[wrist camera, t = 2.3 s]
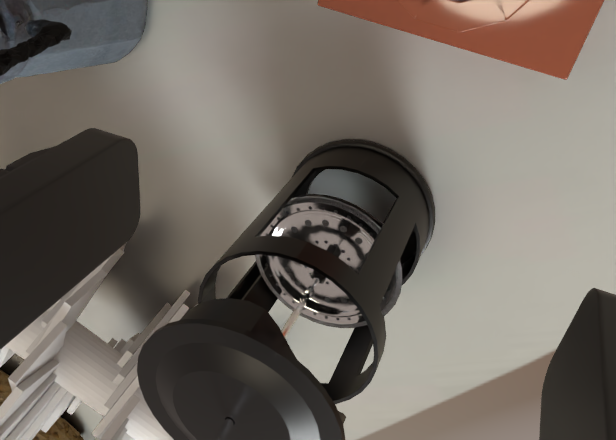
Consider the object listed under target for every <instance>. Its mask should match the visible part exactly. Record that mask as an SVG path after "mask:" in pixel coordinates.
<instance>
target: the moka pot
mask: <svg viewBox="0 0 616 440" xmlns="http://www.w3.org/2000/svg"><path fill="white" fill-rule="evenodd" d="M147 4H148V0H0V84H1V83H4V82H7V81H10V80H12V79H14V78H15V77H28V76H33V75H38V74H46V73H52V72H58V71H63V70H69V69H76V68H83V67H89V66H95V65H101V64H107V63H114V62H117V61H118V60H120V59H121V58H123V57H124V56H126V55H127V54H128V53H129V52H130V51H131V50H132V49H133V48H134V47H135V46H136V44H137V43H138V42H139V41H140V39H141V36H142V34H143V32H144V28H145V24H146V14H147Z"/></svg>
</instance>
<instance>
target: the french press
mask: <svg viewBox="0 0 616 440" xmlns="http://www.w3.org/2000/svg"><path fill="white" fill-rule="evenodd" d="M325 169H341V170H347V171H351V172H355V173H359V174H361V175H364V176H366V177H368V178H371V179H373V180H374V181H376V182H377V183H379V184H381V185H382V186H384V187H385V188H386V189H387V190H389V191H390V192H391V193H392V194H393V195H394V196H395V197H396V198H397V199H396V200H395V202H394V204H393V206H392V208H391V210H390V212H389V214H388V216H387V218H386V220H385V221H384V223H383V225H382V224H381V223H380V222H379V221H378V220H377V219H376V218H374V217H373V216H372V215H371V214H369V213H368V212H366V211H365V210H363V209H361V208H360V207H358V206H356V205H354V204H352V203H350V202H347V201H345V200H343V199H339V198H335V197H331V196H327V195H316V194H310V195H307V194H308V191H309V188H310V185H311V183H312V181H313V180H314V178H315V177H316V176H317V175H318V174H319V173H321V172H322V171H324V170H325ZM434 225H435V208H434V204H433V200H432V196H431V193H430V191H429V189H428V187H427V185H426V183H425V181H424V179H423V178H422V177H421V175H420V174H419V173H418V171H417V170H416V169H415V168H414V167H413V166H412V165H411V164H410V163H409V162H408V161H407V160H406V159H404V158H403V157H402V156H400V155H399V154H397V153H395V152H394V151H392V150H391V149H389V148H386V147H384V146H381V145H379V144H376V143H372V142H367V141H363V140H341V141H336V142H331V143H328V144H326V145H323V146H321V147H318V148H317V149H315V150H314V151H313V152H311V153H310V154H308V155H307V156H306V157H305V158H304V160H303V161H302V162H301V163H300V164H299V165H298V166H297V168H296V170H295V172H294V174H293V176H292V178H291V180H290V181H289V182H288V183H287V184H286V185H285V186H284V187H283V189H282V190H281V191H280V192H279V193H278V194H277V195H276V196H275V198H274V199H273V200H272V201H271V202H270V203H269V204H268V205H267V207H266V208H265V209H264V210H263V211H262V212H261V213H260V214H259V215H258V217H257V218H256V219H255V220H254V221H253V222H252V223H251V224H250V226H249V227H248V228H247V229H246V230H245V231H244V232H243V233H242V235H241V236H240V237H239V238H238V239H237V240H236V241H235V242H234V244H233V245H232V246H231V247H230V248H229V249H228V250H227V251H226V252H225V254H224V255H223V256H222V257H221V258H220V259H219V260H218V261H217V263H216V264H215V265H214V266H213V267H212V268H211V269H210V270H209V272H208V273H207V274H206V275H205V277H204V280H203V282H202V284H201V286H200V291H199V297H198V305H196V306H194V307H193V308H191V309H189V310H188V311H187V312H186V314H185V315H184V316H183V317H182V318H181V319H180V320H179V321H175V322H171V323H168V324H166V325H165V326H163V327H161V328H159V329H158V330H156V331H155V332H154V333H153V334H152V335H151V337H150V338H149V339H148V340H147V341H146V342H145V343H144V344H143V346H142V349H141V351H140V354H139V356H138V363H137V375H138V381H139V386H140V389H141V392H142V394H143V397H144V400H145V402H146V403H147V405H148V407H149V409H150V410H151V412H152V414H153V416H154V417H155V418H156V420H157V421H158V422H159V423H160V425H161V426H162V427H163V429H164V430H165V431H166V432H167V433H168V434H169V435H170V436H171V437H172V438H173V439H174V440H345V434H344V428H343V423H344V421H345V418H346V416H345V415H344V414H343V413H341V412H339V411H338V410H337V408H336V406H335V404H337V403H340V402H343V401H346V400H349V399H351V398H353V397H354V396H356V395H358V394H359V393H361V392H362V391H363V390H364V389H365V388H366V387H367V385H368V384H369V383H370V382H371V380H372V378H373V376H374V374H375V372H376V370H377V367H378V364H379V362H380V359H381V357H382V354H383V351H384V346H385V340H386V330H385V321H384V316H385V315H386V314H387V313H388V312H389V311H390V310H391V309H392V307H393V306H394V305H395V303H396V301H397V299H398V297H399V295H400V292H401V286H402V285H403V284H404V283H405V282H406V281H407V280H408V279H409V277H410V276H411V275H412V274H413V271H414V269H415V267H416V265H417V263H418V260H419V258H420V256H421V254H422V253H423V252H424V251H425V249H426V248H427V246H428V244H429V241H430V239H431V237H432V235H433V230H434ZM247 255H255V257H256V262H255V263H254V264H253V265H252V267H251V268H250V269H249V270H248V272H247V273H246V274H245V275H244V277H243V278H242V279H241V280H240V282H239V283H238V284H237V285H236V287H235V288H234V289H233V290H232V292H231V293H230V294H229V295H228V297H227V298H226V299H216V297H215V282H216V276H217V272H218V270H219V268H220V266H221V265H222V264H224V263H226V262H227V261H229V260H232V259H235V258H238V257H241V256H247ZM277 299H279V300H280V301H282V302H283V303H284V304H285V305H286V306H287V307H288V308H290V309H291V310H293V312H292V314H291V315H290V317H289V319H288V320H287V322H286V323H285V325H284V327H283V328H282V330H280V328H279V326H278V325H277V324H276V323H275V321H274V320H273V319H272V317H271V316H270V315H269V313H268V312H269V311H270V309H271V308H272V306H273V305H274V303H275V302H276V300H277ZM299 315H301V316H303V317H305V318H307V319H309V320H311V321H313V322H316V323H319V324H323V325H326V326H331V327H338V328H354V331H353V333H352V335H351V337H350V339H349V341H348V343H347V346H346V348H345V350H344V352H343V354H342V356H341V358H340V361H339V363H338V365H337V367H336V369H335V371H334V373H333V376H332V378H331V380H330V382H329V384H326V383H320V382H319V381H318V380H317V379H316V378H315V377H314V375H313V374H312V373H311V372H310V371H309V370H308V369H307V368H306V367H305V366H303V365H302V364H301V363H300V362H299V361H298V360H297V359H296V357H295V355H294V354H293V352H292V350H291V349H290V347H289V345H288V343H287V341H286V339H285V338H286V336H287V335H288V333H289V331H290V330H291V328H292V326H293V325H294V323H295V321H296V320H297V318H298V316H299ZM372 344H373V346H374V361H373V363H372V364H371V365H370V366H369V367H368V369H367V370H366V371H364V372H363V373H361V371H362V369H363V366H364V364H365V361H366V359H367V356H368V354H369V352H370V349H371V347H372ZM360 373H361V374H360Z"/></svg>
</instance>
